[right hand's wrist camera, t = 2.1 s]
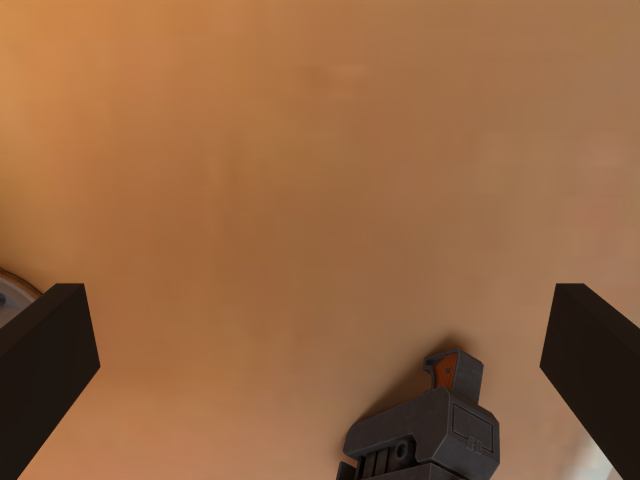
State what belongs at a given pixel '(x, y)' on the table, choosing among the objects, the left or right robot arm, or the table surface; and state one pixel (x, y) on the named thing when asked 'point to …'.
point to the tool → (430, 430)
